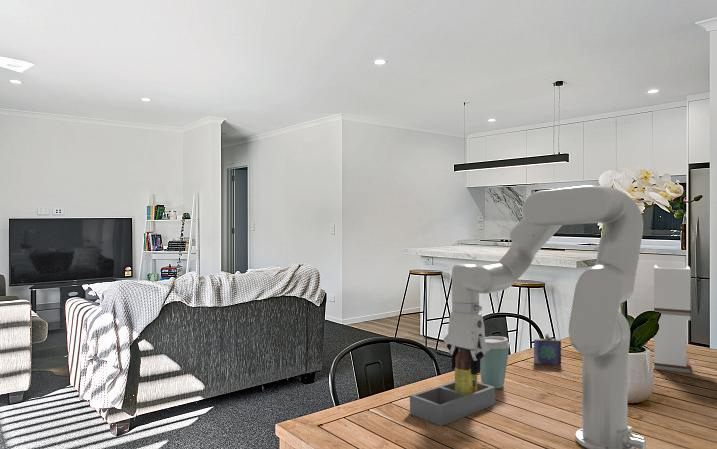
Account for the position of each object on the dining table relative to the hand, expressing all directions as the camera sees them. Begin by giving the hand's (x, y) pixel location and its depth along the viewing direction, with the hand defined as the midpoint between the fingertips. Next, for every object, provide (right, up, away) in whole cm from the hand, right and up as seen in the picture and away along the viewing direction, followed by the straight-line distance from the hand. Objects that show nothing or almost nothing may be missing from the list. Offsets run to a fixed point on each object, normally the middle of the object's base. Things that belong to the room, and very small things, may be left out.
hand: (465, 370), depth 147 cm
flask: (+37, -9, +39) cm, 55 cm away
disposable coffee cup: (+12, -10, +16) cm, 22 cm away
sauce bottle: (0, -10, 0) cm, 10 cm away
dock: (-4, -10, -3) cm, 11 cm away
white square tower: (+80, -9, +35) cm, 87 cm away
